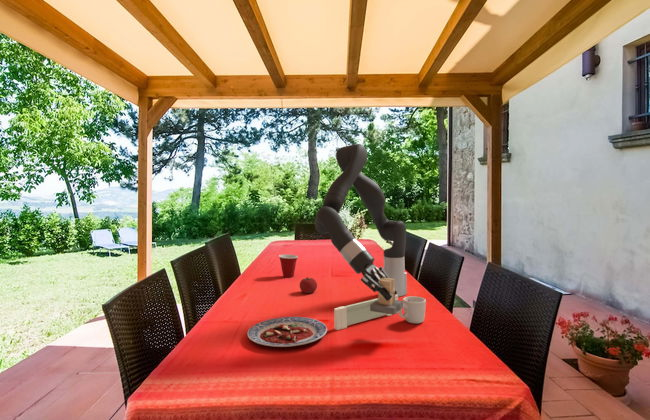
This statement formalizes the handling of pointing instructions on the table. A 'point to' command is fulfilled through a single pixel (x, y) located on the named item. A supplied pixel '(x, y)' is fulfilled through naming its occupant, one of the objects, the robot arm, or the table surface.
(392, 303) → the wooden block on base
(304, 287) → the tomato
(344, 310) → the wooden blocks
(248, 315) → the table surface
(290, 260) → the plastic cup
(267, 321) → the ceramic plate
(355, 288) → the table surface
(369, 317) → the gate
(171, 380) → the table surface
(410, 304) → the cup
